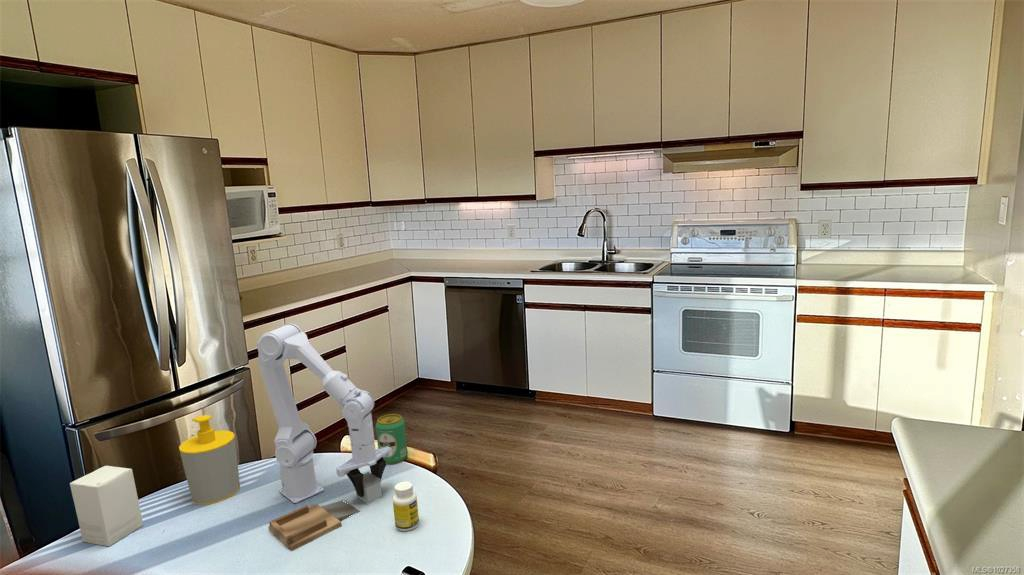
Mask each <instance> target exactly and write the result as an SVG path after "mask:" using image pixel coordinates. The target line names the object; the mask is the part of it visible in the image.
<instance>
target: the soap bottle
mask: <svg viewBox="0 0 1024 575" xmlns="http://www.w3.org/2000/svg"><path fill="white" fill-rule="evenodd" d="M211 419H212V416H211V415H210V414H204V415H199V416H195V417H194V418H192V419H191V420H192V421H194V422H195V423H198V425H199V430H197V432H196V434H197V435H195V436H192V437H190V438H188V439H186V440H184V441H182V442H181V444H180V445H179V446H178V449H179V453H180V458H181V461H182V466H183V469H184V474H185V477H186V480H187V485H188V490H189V493H190V496H191V502H192V503H194V504H196V505H202V506H203V505H206V506H207V505H211V504H216V503H219V502H223V501H225V500H227V499H229V498H231V497H233V496H234V495H235V494H236V493H238V491H239V490H240V488H241V484H240V475H239V474H240V473H239V463H238V453H237V452H238V451H237V443H236V436H235V433H234V432H233V431H230V430H215V428H214V427H211V426H210V422H209V421H210V420H211Z"/></svg>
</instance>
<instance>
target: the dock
mask: <svg viewBox="0 0 1024 575" xmlns="http://www.w3.org/2000/svg"><path fill="white" fill-rule="evenodd" d="M343 500H344V499H342V500H338V501H336V502H332V503H329V504H326V505H322V506H320V505H319V504H318V503H315V504H314V505H312V506H310V507H309V506H308V505H303V506H301V507H299V508H296V509H295V510H292V511H291V512H288V513H286V514H284V515H281V516H279V517H278V518H275V519H273V520H270V521H269V522H268V524H269V525H268V531H269V532H270V533H271V532H272V533H273V534H272V533H271V534H272V535H273V536H274V537H275V538H276V539H278V540H279V541H280V542H281V543H282V542H283V543H284V545H285V546H286V548H288V549H289V550H290V551H291V552H293V551H295V550H296V549H298V548H301V547H302V546H304V545H306V544H308V543H310V542H313V541H314V540H316V539H318V538H320V537H322V536H324V535H326V534H328V533H329V532H332V531H334V530H335V529H338V528H340V527H341V526H342V521H341V520H344V519H348V518H350V517H352V516H354V515H356V514H358V513H360V512H361V510H359V509H358V508H356V507H355V506H353V505H352V504H351V503H349V504H347V503H348V501H346V503H345V502H343ZM355 513H356V514H355ZM353 514H354V515H353ZM351 515H352V516H351ZM349 516H350V517H349ZM347 517H348V518H347ZM283 543H282V544H283ZM292 550H293V551H292Z"/></svg>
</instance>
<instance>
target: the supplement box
mask: <svg viewBox="0 0 1024 575" xmlns="http://www.w3.org/2000/svg"><path fill="white" fill-rule="evenodd" d="M69 486H70V491H71V495H72V496H71V497H72V499H73V503H74V507H75V508H74V509H75V512H76V517H77V521H78V525H79V530H80V535H81V538H82V542H84V543H88V544H95V545H100V546H103V547H104V546H105V547H110V546H112V545H115V543H117V542H118V541H120V540H122V539H124V538H125V537H126V536H128V535H131V534H132V533H133V532H134V531H137V530H138V529H140V528H141V527H143V526H144V522H143V518H142V513H141V511H142V510H141V507H140V503H139V497H138V496H139V495H138V492H137V487H136V483H135V478H134V472H133V469H132V468H127V467H120V466H111V465H104V466H102V467H100V468H97V469H96V470H94V471H92V472H90V473H87V474H85V475H84V476H81V477H79V478H77V479H75V480H73V481H72V482H69Z"/></svg>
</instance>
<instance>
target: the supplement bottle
mask: <svg viewBox="0 0 1024 575" xmlns="http://www.w3.org/2000/svg"><path fill="white" fill-rule="evenodd" d="M392 508H393V516H394V525H395V528H396V529H397V530H398V531H400V532H409V531H413V530H415V529H416V528H417V527H418V526H419V524H420V518H419V508H418V495H417V493H416V492H415V491H414V486H413V483H412V482H411V481H401V482H398V483H397V484H395V486H394V495H393V497H392Z"/></svg>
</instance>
